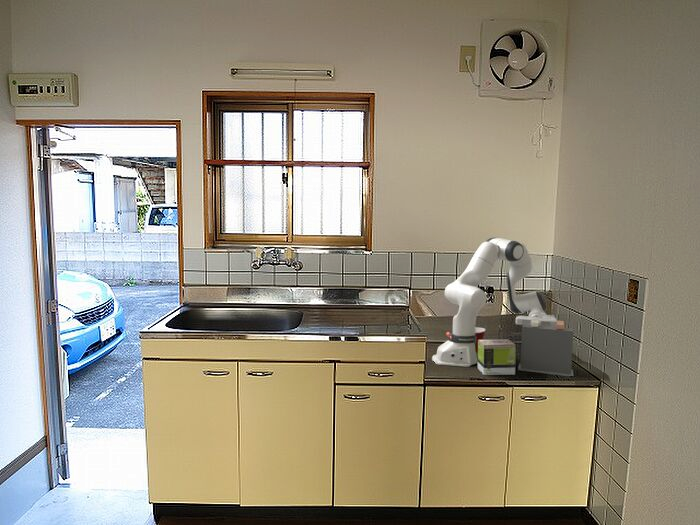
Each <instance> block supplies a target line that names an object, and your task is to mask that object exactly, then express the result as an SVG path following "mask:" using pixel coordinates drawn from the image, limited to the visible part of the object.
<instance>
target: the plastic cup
mask: <svg viewBox="0 0 700 525" xmlns="http://www.w3.org/2000/svg"><path fill="white" fill-rule="evenodd" d="M485 332H486V328H483V327H476V326H475V334H476V345H475V350H476V353H478V340H484V336H485Z"/></svg>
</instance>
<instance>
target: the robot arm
mask: <svg viewBox="0 0 700 525" xmlns="http://www.w3.org/2000/svg"><path fill="white" fill-rule="evenodd" d="M497 260H500V261H503V262H504V261H505V262H508V264H509V271H508V272H506V284H507V294H508V308H509V310H510V312H512V313H513V314H516V315H517V316H516V317H515V325H519V326H523V324H529V325H531V322H532V318H533V319H539V325H540V326H552V327H555V326H556V327H557V321H558V319H557V318H556V317H555V315H554V314H551V313H546V312H545V310H546V308H547V307H546V306H547V305H546V300H545V298H544V296H543V294H541V293H540V292H539V291H530V292H527V293H522V294H517V293H516V285H517V283H519V282H520V281H521V280H523V279H525V278H526V277H527V276H529V274H530V273H532V271H533V263H532V259H531V256H530V253H529V251H528V249H527V247H526V245H525V244H524V243H523V242H521V241H517V240H510V239H507V238H500V237H499V238H498V237H490V238H487V239H486V240H485V241H484V242H482V243H481V244H480V245H479V247H477V250H476V251H475V252H474V254H473V256H472V258H471V259H470V261H469V263H468V265H467V267H466V268H465V270H464V271H463V272H462V273H461V275H460V276H458V277H457V279H455V280H454V281H453V282H451V283H449V284H447V286H446V287H445V289H444V298H445V299H446V300H448V301H449V302H450V303H451V304H454V305H457V306H459V308H458V311H457V314H455V315H454V316H453V318H452V332H451V333H450V332H449V331H447V332H446V337H447V338H448V340H446V341H444V343H443V342H442V344H440V345H439V346H438V347H437V351H436V354H433V355H432V357H431V360H432V362H433V361H434V362H435V363H434V362H433V363H434V364H436V365H440V366H453V367H468V368H469V367H470V366H472V365H475V364H478V356H477V352H476V350H475V345H476V334H475V327H476V322H477V317H478V314H479V312H480V310H481V309H482V308H483V307H484V306H485V305H486V303H487V298H488V297H487V294H486V292H485V291H484V290H482V289H481V288H480V287H478V286H479V285H480V284H483V283H484V282H486V280H487V279H488V277H489V276H490V273H491V272H492V269H493V268H494V265H495V263H496V261H497ZM524 312H529V313H528V316H527V315H519V314H522V313H524Z"/></svg>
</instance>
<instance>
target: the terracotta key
mask: <svg viewBox="0 0 700 525" xmlns="http://www.w3.org/2000/svg"><path fill="white" fill-rule="evenodd" d="M555 327H556V326H555ZM564 328H565V323H564V320H557V329H564Z"/></svg>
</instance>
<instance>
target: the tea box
mask: <svg viewBox="0 0 700 525" xmlns="http://www.w3.org/2000/svg"><path fill="white" fill-rule="evenodd" d="M516 353H517V352H516V343H514V342H513V341H511V340H510V339H509V338H497V339H493V338H492V339H491V338H490V339H483V340H478V352H477V361H478V362H477V369H478V370H479V372H480V373H481V372H482V373H481V374H482V375H484V376H500V375H501V376H503V375H504V376H505V375H506V376H507V375H508V376H510V375H516V355H517V354H516Z"/></svg>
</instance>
